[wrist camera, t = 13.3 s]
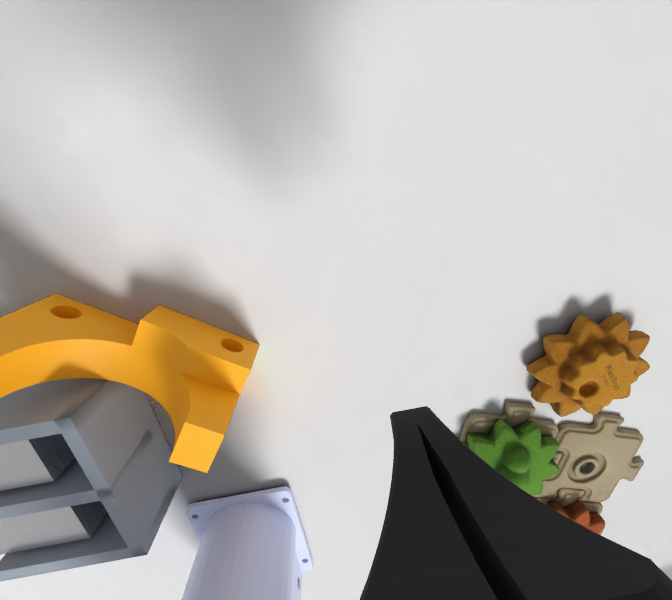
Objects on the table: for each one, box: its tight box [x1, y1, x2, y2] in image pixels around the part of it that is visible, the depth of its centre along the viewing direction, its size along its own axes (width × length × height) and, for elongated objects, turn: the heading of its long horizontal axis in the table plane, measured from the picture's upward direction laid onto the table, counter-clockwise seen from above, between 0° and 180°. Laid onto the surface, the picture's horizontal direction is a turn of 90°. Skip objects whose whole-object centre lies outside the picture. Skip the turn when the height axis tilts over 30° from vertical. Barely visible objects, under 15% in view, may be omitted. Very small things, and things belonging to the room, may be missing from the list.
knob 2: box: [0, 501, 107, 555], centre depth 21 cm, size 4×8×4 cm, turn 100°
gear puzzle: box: [459, 313, 650, 535], centre depth 26 cm, size 31×16×4 cm, turn 170°
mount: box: [0, 378, 182, 581], centre depth 20 cm, size 10×9×6 cm
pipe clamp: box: [0, 294, 260, 473], centre depth 18 cm, size 12×4×6 cm, turn 64°
